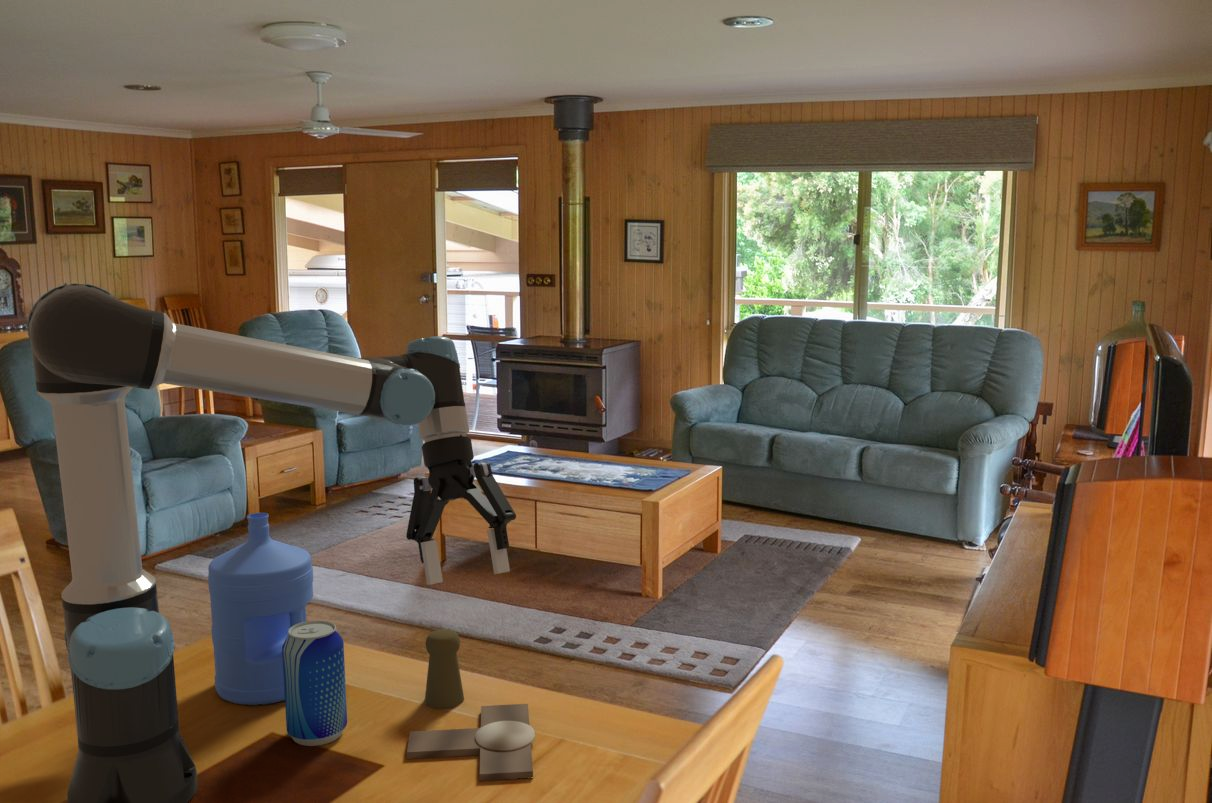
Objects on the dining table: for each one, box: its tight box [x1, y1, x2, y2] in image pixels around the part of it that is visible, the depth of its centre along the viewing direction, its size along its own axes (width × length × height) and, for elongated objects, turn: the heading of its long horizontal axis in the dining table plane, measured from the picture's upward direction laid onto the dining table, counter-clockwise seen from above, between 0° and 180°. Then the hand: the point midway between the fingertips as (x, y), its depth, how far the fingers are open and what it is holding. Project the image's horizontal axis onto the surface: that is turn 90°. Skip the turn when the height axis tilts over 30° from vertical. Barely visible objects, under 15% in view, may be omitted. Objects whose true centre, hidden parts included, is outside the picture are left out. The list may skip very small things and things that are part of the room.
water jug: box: [207, 512, 314, 706], centre depth 164 cm, size 16×16×28 cm
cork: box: [424, 628, 465, 710], centre depth 160 cm, size 6×6×11 cm
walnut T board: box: [406, 703, 536, 782], centre depth 147 cm, size 18×20×1 cm
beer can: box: [282, 619, 348, 747], centre depth 149 cm, size 8×8×16 cm
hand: (467, 578), depth 156 cm, fingers open, 13 cm apart
